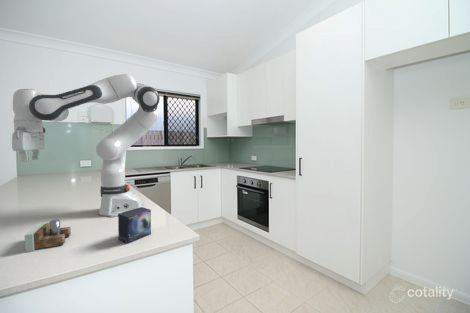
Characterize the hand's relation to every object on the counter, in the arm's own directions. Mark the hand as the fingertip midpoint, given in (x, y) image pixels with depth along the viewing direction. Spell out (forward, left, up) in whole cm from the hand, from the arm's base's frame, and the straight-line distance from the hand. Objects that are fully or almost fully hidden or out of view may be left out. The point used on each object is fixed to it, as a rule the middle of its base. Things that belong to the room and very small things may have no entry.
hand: (30, 160), depth 95 cm
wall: (-8, +21, -29) cm, 37 cm away
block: (-13, +21, -29) cm, 38 cm away
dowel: (-14, +21, -29) cm, 38 cm away
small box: (-41, +28, -29) cm, 58 cm away
